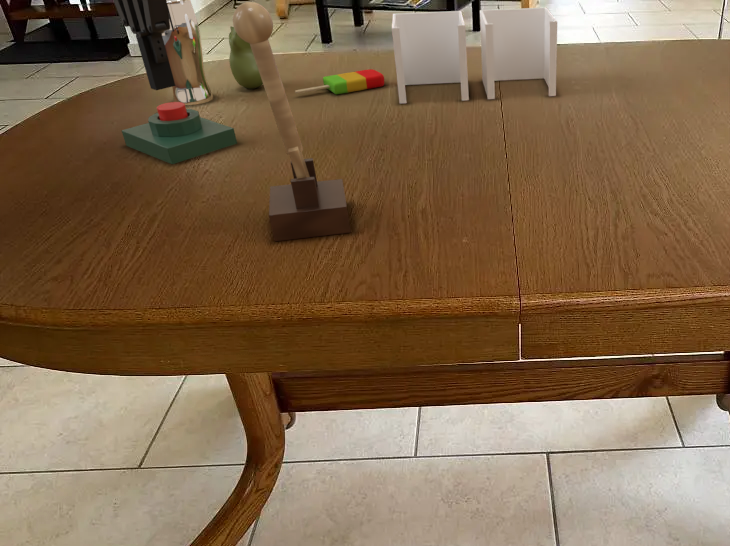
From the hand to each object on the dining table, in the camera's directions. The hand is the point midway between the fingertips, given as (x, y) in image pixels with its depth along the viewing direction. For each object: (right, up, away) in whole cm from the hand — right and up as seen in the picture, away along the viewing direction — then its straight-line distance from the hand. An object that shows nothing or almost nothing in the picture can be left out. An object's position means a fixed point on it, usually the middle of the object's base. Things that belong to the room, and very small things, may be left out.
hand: (163, 86), depth 99 cm
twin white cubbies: (+41, +9, +24) cm, 48 cm away
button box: (0, -6, +5) cm, 8 cm away
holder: (+24, -22, -16) cm, 36 cm away
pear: (+3, +10, +27) cm, 29 cm away
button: (0, -3, +3) cm, 4 cm away
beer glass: (-5, +6, +22) cm, 24 cm away
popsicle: (+18, +9, +25) cm, 32 cm away
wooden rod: (+21, -12, -25) cm, 35 cm away
